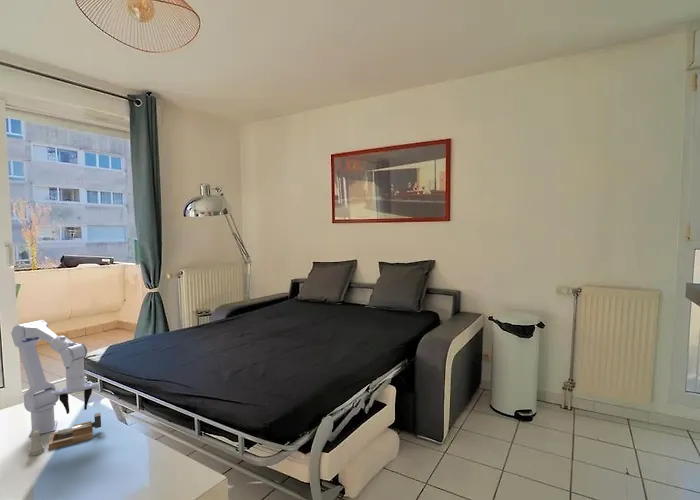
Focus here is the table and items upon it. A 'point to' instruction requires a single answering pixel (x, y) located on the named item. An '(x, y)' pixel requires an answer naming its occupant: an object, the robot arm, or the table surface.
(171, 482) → the table surface
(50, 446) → the wooden frame
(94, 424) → the grey metal hammer
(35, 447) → the rook chess piece
